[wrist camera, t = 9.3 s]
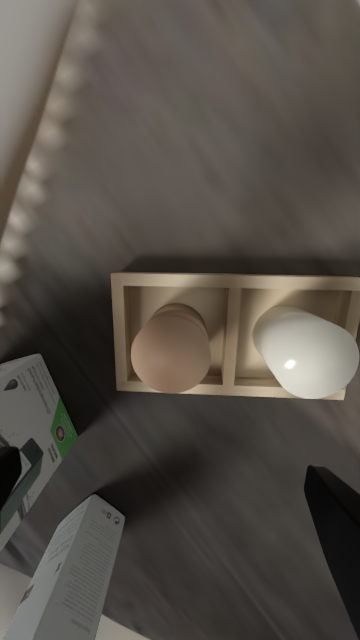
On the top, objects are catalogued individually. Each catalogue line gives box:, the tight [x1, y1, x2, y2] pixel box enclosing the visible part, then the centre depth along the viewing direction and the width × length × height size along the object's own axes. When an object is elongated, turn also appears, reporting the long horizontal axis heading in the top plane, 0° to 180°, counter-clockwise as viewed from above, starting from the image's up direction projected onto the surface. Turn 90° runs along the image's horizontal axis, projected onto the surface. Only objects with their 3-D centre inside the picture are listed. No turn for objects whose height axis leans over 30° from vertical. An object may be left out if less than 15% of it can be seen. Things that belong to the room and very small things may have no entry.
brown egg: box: [131, 303, 211, 393], centre depth 16 cm, size 4×4×5 cm
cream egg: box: [252, 305, 359, 399], centre depth 15 cm, size 4×4×5 cm
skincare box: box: [3, 494, 125, 640], centre depth 18 cm, size 6×4×12 cm
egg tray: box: [111, 272, 360, 400], centre depth 18 cm, size 16×9×2 cm, turn 89°
